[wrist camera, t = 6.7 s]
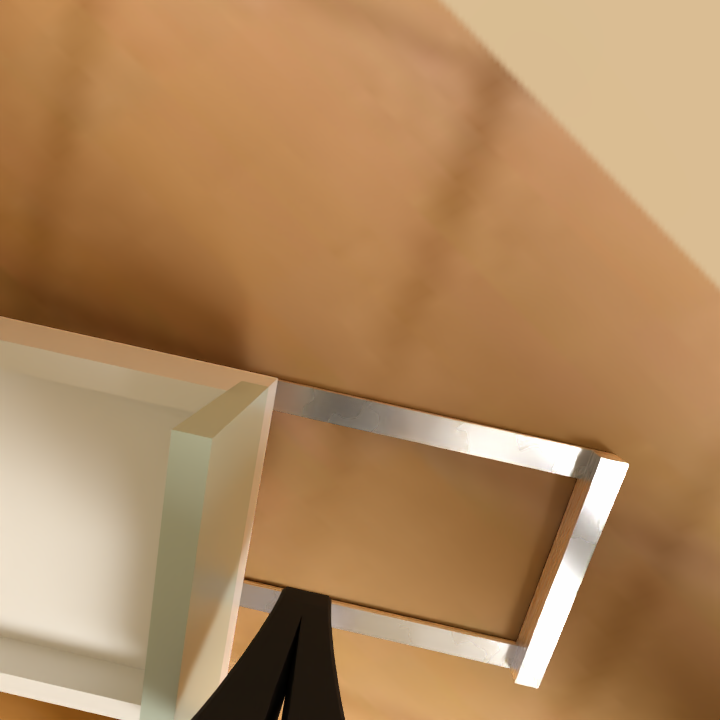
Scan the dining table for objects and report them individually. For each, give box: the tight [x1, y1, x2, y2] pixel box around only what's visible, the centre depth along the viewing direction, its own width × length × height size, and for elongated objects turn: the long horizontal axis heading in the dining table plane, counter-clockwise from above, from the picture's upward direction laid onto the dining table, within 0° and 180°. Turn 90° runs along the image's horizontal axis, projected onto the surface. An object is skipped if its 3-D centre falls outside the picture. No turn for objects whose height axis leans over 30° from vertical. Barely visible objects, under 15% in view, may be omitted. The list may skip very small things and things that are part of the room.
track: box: [239, 379, 629, 688], centre depth 15 cm, size 10×26×1 cm, turn 78°
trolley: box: [0, 316, 278, 720], centre depth 12 cm, size 12×12×7 cm
